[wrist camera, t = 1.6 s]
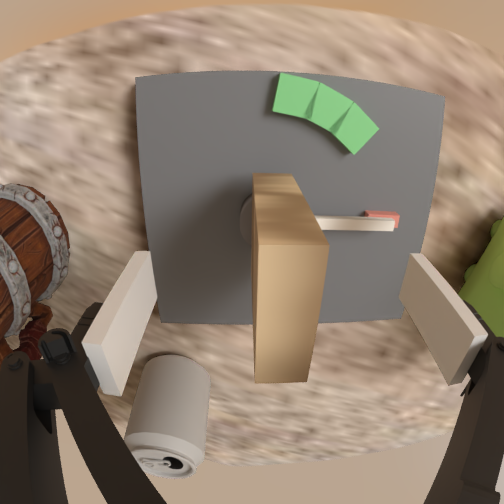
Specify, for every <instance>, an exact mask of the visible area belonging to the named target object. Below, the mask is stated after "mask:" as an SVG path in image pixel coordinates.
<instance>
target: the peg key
mask: <svg viewBox="0 0 504 504" xmlns="http://www.w3.org/2000/svg"><path fill="white" fill-rule="evenodd" d="M394 225H395V220H394V219H393V218H382V217H354V216H318V215H314V214H313V212H312V210H311V209H310V207H309V205H308V203H307V201H306V199H305V197H304V196H303V194H302V192H301V190H300V188H299V186H298V185H297V183H296V181H295V179H294V177H293V176H292V174H287V173H253V178H252V193H251V194H250V195H249V196H248V197H247V198H246V199H245V200H244V202H243V204H242V206H241V210H240V231H241V234H242V236H243V238H244V240H245V241H246V242H247V243H248V244H249V245H250V246H251V247H252V249H251V281H252V312H253V343H254V373H255V383H292V382H307V379H308V374H309V369H310V363H311V358H312V353H313V348H314V342H315V337H316V331H317V325H318V320H319V314H320V308H321V301H322V295H323V288H324V282H325V275H326V268H327V261H328V254H329V246H330V245H329V243H328V241H327V239H326V237H325V235H324V233H323V231H322V230H361V231H393V230H394Z"/></svg>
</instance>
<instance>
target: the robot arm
mask: <svg viewBox="0 0 504 504" xmlns="http://www.w3.org/2000/svg"><path fill="white" fill-rule="evenodd" d="M399 299H400V300H401V302H402V304H403V305H404V307H405V309H406V310H407V312H408V314H409V315H410V317H411V319H412V320H413V322H414V324H415V326H416V327H417V329H418V331H419V332H420V334H421V336H422V338H423V339H424V341H425V343H426V345H427V347H428V348H429V350H430V352H431V354H432V356H433V357H434V359H435V361H436V363H437V365H438V367H439V369H440V370H441V372H442V374H443V376H444V378H445V380H446V382H447V384H448V386H449V385H453V384H458V383H462V381H463V380H464V378H465V376H466V375H467V373H468V374H469V376H470V377H471V379H470V381H469V382H468V384H467V386H466V387H465V389H464V390H463V392H462V394H461V395H460V396H463V395H464V393H465V396H464V399H463V403H462V406H461V410H460V413H459V416H458V419H457V422H456V425H455V428H454V431H453V434H452V437H451V440H450V443H449V446H448V448H447V451H446V454H445V456H444V459H443V461H442V464H441V466H440V469H439V471H438V473H437V476H436V478H435V480H434V482H433V485H432V487H431V489H430V491H429V493H428V495H427V498H426V500H425V502H424V504H499V502H500V493H499V492H496V491H495V486H496V483H497V479H498V475H499V471H500V467H501V463H502V459H503V454H504V337H496V336H495V334H494V333H493V332H492V330H491V329H490V328H489V326H488V325H487V324H486V323H485V321H484V320H482V317H481V316H480V315H479V314H478V312H477V311H476V310H475V309H474V307H473V306H472V305H471V304H469V303H468V302H466V301H465V300H462V299H461V298H460V297H459V296H458V295H457V293H456V292H455V291H454V290H453V288H452V287H451V286H450V285H449V284H448V282H447V281H446V280H445V279H444V278H443V277H442V275H441V274H440V273H439V272H438V271H437V270H436V268H435V267H434V266H433V265H432V264H431V263H430V262H429V260H428V259H427V258H426V257H425V256H424V255H423V254H422V253H410V256H409V261H408V264H407V268H406V272H405V276H404V280H403V283H402V287H401V290H400V294H399ZM156 300H157V292H156V286H155V280H154V274H153V267H152V261H151V254H150V251H135V253H134V254H133V256H132V257H131V259H130V261H129V262H128V264H127V265H126V267H125V269H124V270H123V272H122V273H121V275H120V277H119V278H118V280H117V282H116V283H115V285H114V286H113V288H112V290H111V291H110V293H109V295H108V297H107V298H106V300H105V302H104V303H97V302H95V303H93V304H92V305H91V306H90V307H88V308H87V309H86V310H85V312H84V314H83V315H82V317H81V319H80V320H79V322H78V325H76V327H75V328H74V330H73V332H72V333H71V335H70V333H69V332H68V331H67V330H65V329H60V328H56V329H52V330H49V331H48V332H46V333H44V334H43V335H42V336H41V337H40V339H39V341H38V348H39V350H40V352H41V354H42V356H43V358H44V359H41V360H30V358H29V356H28V355H27V354H26V353H25V352H22V351H16V352H13V353H10V354H9V355H7V356H6V357H5V358H4V360H3V361H2V364H1V368H0V504H68V500H67V495H66V490H65V485H64V479H63V474H62V468H61V461H60V455H59V446H58V437H57V427H56V416H55V409H62V410H63V412H64V416H65V418H66V420H67V423H68V425H69V428H70V430H71V432H72V435H73V437H74V439H75V441H76V444H77V446H78V448H79V450H80V452H81V455H82V456H83V459H84V461H85V463H86V465H87V467H88V469H89V471H90V472H91V475H92V476H93V478H94V480H95V482H96V484H97V485H98V488H99V489H100V491H101V493H102V495H103V496H104V498H105V500H106V502H107V503H108V504H167V503H166V502H165V501H164V499H163V498H162V497H161V495H160V494H159V493H158V491H157V490H156V488H155V487H154V486H153V484H152V483H151V481H150V480H149V479H148V477H147V476H146V474H145V473H144V471H143V470H142V468H141V467H140V465H139V464H138V462H137V461H136V459H135V458H134V456H133V455H132V453H131V452H130V450H129V448H128V447H127V445H126V444H125V442H124V440H123V439H122V437H121V435H120V434H119V432H118V430H117V429H116V427H115V425H114V423H113V422H112V420H111V418H110V416H109V415H108V413H107V411H106V409H105V407H104V405H103V403H102V402H101V400H100V398H99V396H98V394H97V390H98V387H99V385H100V387H101V389H102V391H103V393H104V394H108V395H115V396H122V394H123V391H124V388H125V385H126V382H127V379H128V376H129V373H130V370H131V367H132V364H133V362H134V359H135V356H136V353H137V350H138V348H139V345H140V342H141V339H142V337H143V334H144V331H145V329H146V326H147V323H148V321H149V318H150V316H151V313H152V310H153V308H154V305H155V303H156Z"/></svg>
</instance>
